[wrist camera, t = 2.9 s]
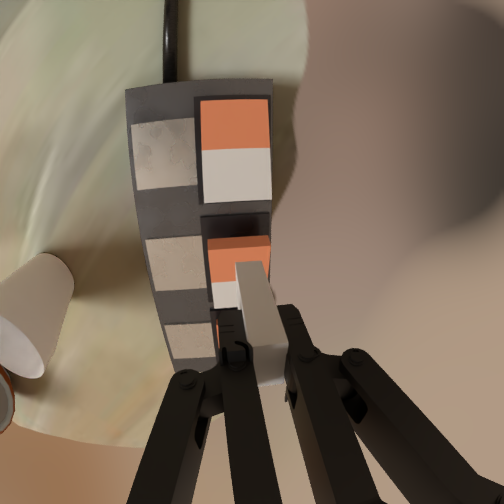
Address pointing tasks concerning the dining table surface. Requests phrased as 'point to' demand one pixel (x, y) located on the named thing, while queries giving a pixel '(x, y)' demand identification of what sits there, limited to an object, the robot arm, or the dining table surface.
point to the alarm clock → (6, 400)
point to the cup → (33, 314)
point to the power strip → (185, 200)
